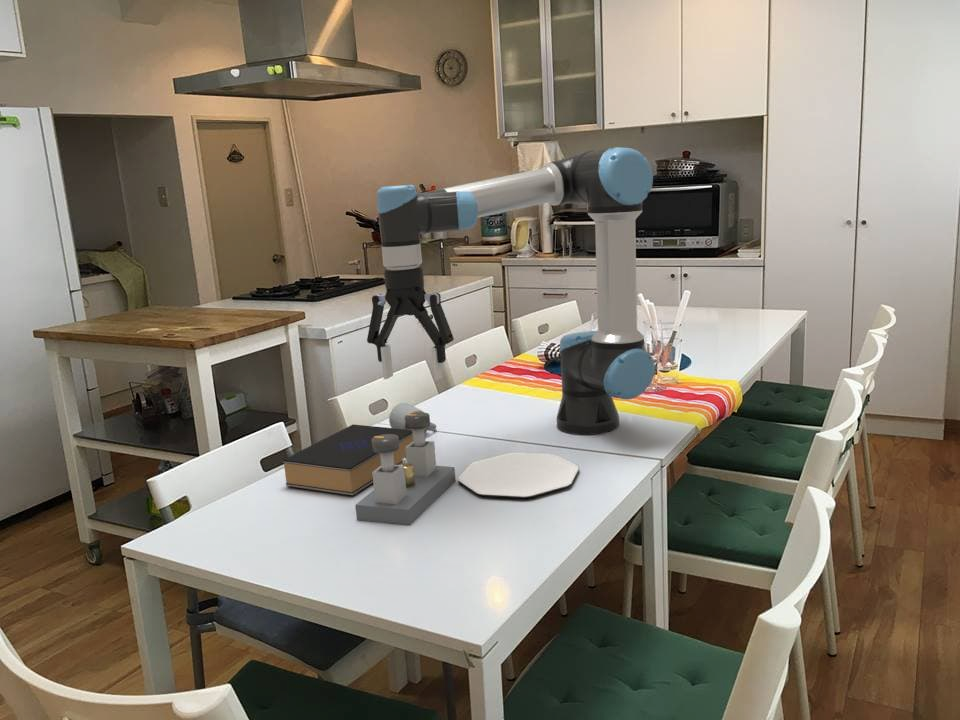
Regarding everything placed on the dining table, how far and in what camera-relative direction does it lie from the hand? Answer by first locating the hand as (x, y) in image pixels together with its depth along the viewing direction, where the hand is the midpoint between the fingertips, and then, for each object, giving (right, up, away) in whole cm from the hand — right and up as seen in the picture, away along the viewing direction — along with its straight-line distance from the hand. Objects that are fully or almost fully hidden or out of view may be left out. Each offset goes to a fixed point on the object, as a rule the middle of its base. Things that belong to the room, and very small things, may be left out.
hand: (413, 378), depth 161 cm
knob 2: (+1, -15, +3) cm, 16 cm away
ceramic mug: (-3, -15, +40) cm, 42 cm away
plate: (+21, -21, +6) cm, 31 cm away
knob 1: (-4, -19, -9) cm, 21 cm away
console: (-1, -24, -1) cm, 24 cm away
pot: (-1, -21, -2) cm, 21 cm away
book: (-14, -21, +16) cm, 31 cm away
